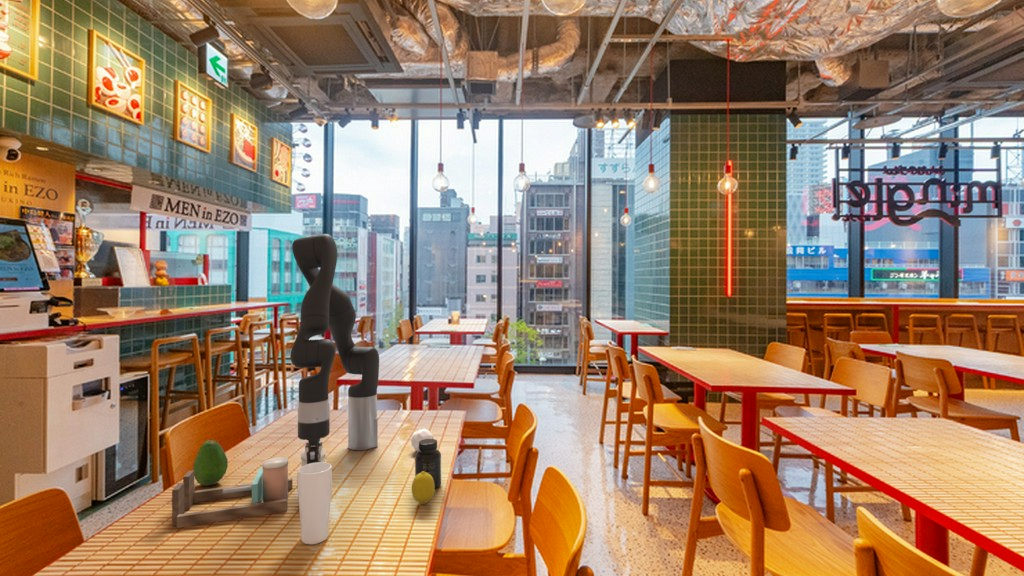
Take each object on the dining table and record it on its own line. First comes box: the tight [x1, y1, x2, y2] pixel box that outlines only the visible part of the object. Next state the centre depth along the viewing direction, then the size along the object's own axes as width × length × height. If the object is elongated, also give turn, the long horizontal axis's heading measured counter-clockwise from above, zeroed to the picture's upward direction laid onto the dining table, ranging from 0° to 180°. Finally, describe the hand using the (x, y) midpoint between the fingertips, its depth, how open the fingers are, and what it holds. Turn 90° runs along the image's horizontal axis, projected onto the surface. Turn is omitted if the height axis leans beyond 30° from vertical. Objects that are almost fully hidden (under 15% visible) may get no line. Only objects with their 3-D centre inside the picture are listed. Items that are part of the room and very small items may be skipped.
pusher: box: [222, 467, 263, 504], centre depth 114 cm, size 8×11×6 cm
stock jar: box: [261, 456, 289, 503], centre depth 117 cm, size 6×6×10 cm
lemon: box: [411, 471, 436, 505], centre depth 114 cm, size 6×6×8 cm
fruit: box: [192, 439, 229, 487], centre depth 127 cm, size 8×8×12 cm
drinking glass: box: [296, 461, 333, 545], centre depth 99 cm, size 7×7×15 cm
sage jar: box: [300, 449, 327, 467], centre depth 120 cm, size 6×6×10 cm
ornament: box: [410, 427, 434, 452], centre depth 152 cm, size 7×7×8 cm
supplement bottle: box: [414, 438, 442, 491], centre depth 125 cm, size 7×7×12 cm
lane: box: [171, 469, 294, 529], centre depth 114 cm, size 23×14×8 cm, turn 110°
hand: (314, 483), depth 120 cm, fingers closed on sage jar, 5 cm apart
